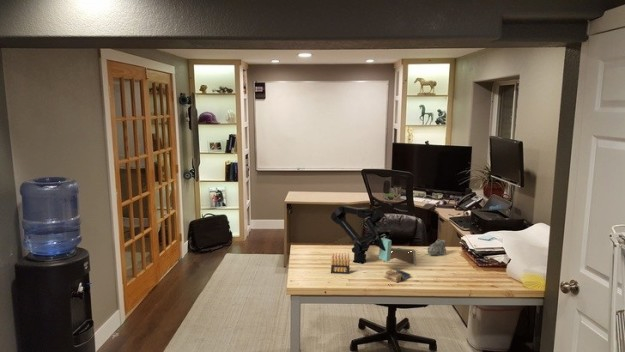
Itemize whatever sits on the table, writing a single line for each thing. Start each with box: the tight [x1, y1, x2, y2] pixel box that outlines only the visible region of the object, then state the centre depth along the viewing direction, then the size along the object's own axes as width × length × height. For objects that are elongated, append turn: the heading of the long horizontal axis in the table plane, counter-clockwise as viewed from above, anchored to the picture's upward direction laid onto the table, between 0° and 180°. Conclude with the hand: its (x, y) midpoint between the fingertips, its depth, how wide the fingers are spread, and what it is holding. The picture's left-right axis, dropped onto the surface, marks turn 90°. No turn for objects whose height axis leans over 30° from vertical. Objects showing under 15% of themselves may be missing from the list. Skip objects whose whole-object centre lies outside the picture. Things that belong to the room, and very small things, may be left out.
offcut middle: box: [384, 272, 401, 280], centre depth 237 cm, size 8×4×1 cm, turn 40°
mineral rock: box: [427, 238, 447, 256], centre depth 279 cm, size 13×11×10 cm
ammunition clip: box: [330, 252, 351, 275], centre depth 246 cm, size 11×2×12 cm, turn 85°
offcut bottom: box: [384, 275, 401, 283], centre depth 237 cm, size 8×4×1 cm, turn 40°
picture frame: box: [382, 247, 416, 266], centre depth 274 cm, size 19×2×30 cm
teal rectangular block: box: [378, 238, 392, 262], centre depth 248 cm, size 6×3×12 cm, turn 39°
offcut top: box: [385, 269, 402, 278], centre depth 236 cm, size 8×4×1 cm, turn 40°
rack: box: [383, 268, 411, 284], centre depth 239 cm, size 10×11×3 cm
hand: (386, 249), depth 246 cm, fingers closed on teal rectangular block, 3 cm apart
